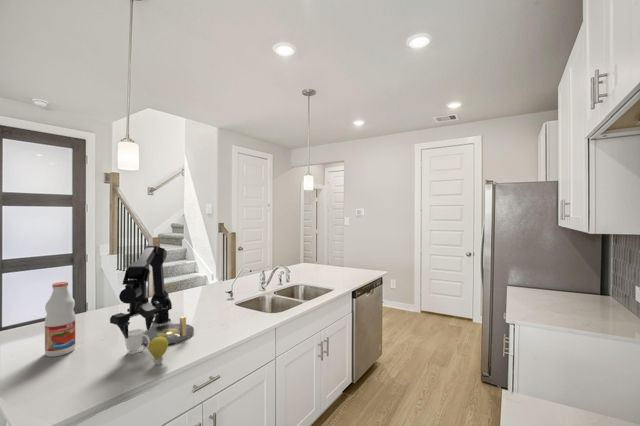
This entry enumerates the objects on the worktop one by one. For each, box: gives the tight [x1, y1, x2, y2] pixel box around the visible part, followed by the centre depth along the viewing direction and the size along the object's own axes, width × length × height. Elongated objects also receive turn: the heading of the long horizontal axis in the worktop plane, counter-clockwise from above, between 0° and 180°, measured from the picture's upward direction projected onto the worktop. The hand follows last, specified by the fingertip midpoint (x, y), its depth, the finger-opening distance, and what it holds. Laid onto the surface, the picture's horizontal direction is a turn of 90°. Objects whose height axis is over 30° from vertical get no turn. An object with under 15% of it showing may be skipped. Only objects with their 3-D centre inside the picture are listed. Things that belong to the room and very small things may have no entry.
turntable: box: [141, 315, 195, 346], centre depth 138 cm, size 22×22×10 cm
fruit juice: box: [44, 281, 76, 358], centre depth 122 cm, size 9×9×28 cm
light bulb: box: [147, 336, 169, 366], centre depth 113 cm, size 7×7×10 cm
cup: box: [124, 328, 150, 355], centre depth 122 cm, size 7×10×8 cm
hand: (137, 333), depth 123 cm, fingers open, 9 cm apart
